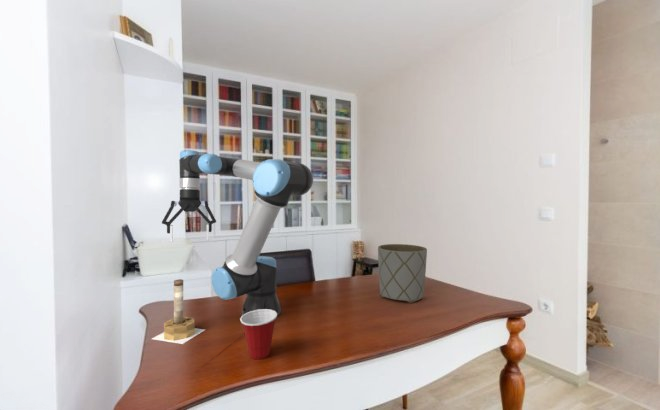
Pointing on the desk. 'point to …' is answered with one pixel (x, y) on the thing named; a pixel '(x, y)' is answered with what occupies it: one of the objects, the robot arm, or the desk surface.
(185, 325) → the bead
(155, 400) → the desk surface
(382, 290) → the planter
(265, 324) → the plastic cup
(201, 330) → the mat
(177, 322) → the stone peg
